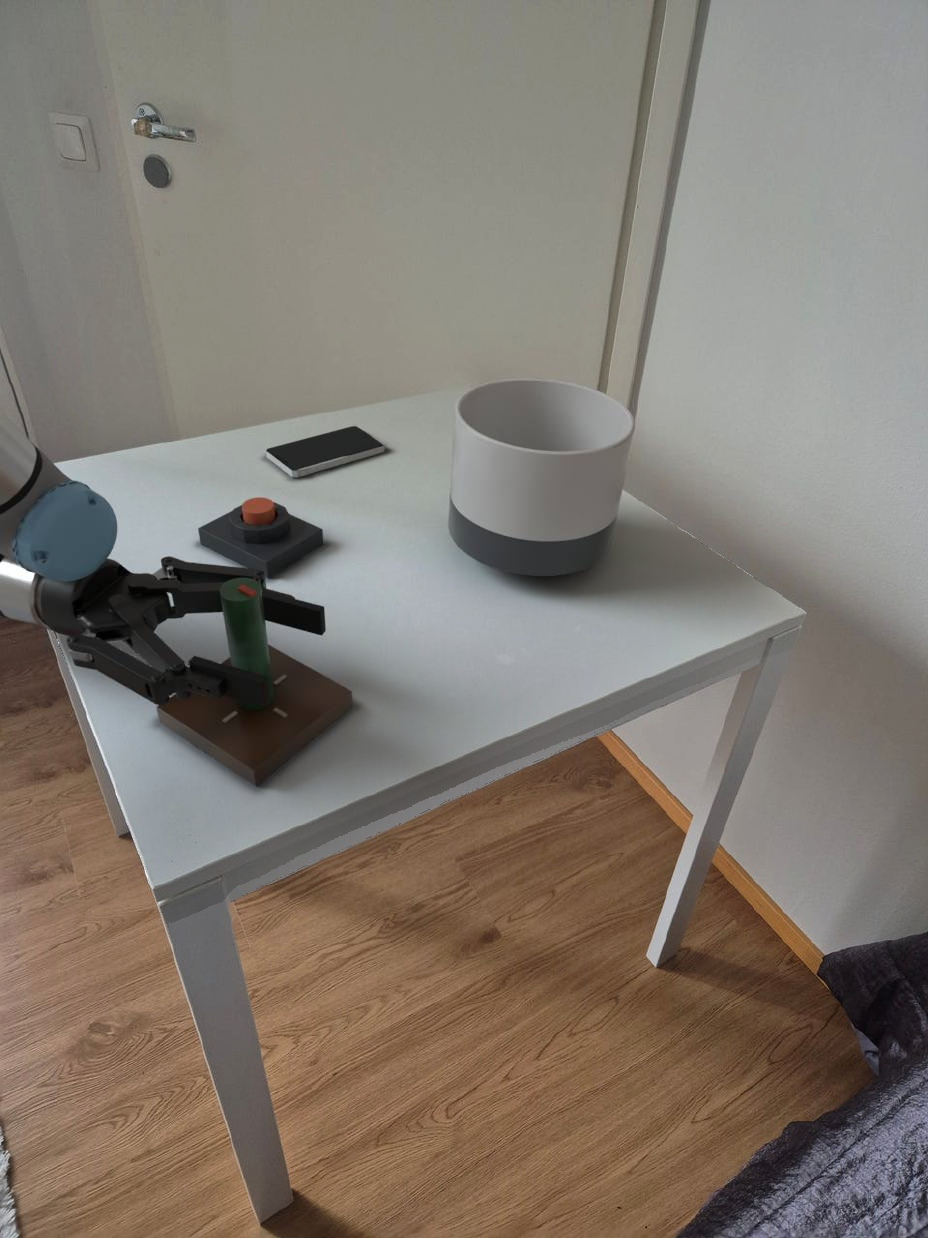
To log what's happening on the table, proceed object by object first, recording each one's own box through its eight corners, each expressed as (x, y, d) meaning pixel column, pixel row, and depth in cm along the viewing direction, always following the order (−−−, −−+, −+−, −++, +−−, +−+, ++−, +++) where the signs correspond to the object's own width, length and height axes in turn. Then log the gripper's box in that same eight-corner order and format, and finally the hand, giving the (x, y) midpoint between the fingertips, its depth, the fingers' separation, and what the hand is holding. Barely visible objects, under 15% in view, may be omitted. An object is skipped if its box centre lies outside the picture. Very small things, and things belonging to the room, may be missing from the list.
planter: (496, 615, 86) (512, 466, 75) (420, 527, 99) (424, 389, 88) (640, 575, 93) (673, 435, 82) (551, 498, 107) (570, 368, 96)
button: (236, 519, 91) (234, 505, 90) (259, 506, 94) (258, 493, 93) (259, 530, 90) (257, 516, 89) (282, 517, 92) (280, 504, 91)
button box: (200, 544, 93) (195, 514, 91) (257, 513, 99) (254, 485, 97) (268, 578, 89) (264, 548, 86) (323, 544, 95) (321, 515, 92)
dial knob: (229, 700, 71) (210, 587, 63) (256, 680, 73) (241, 569, 65) (255, 716, 69) (238, 602, 62) (281, 696, 71) (269, 584, 64)
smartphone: (386, 445, 114) (294, 471, 106) (386, 452, 115) (294, 480, 106) (354, 424, 118) (263, 448, 110) (354, 432, 119) (264, 456, 111)
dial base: (159, 723, 71) (155, 705, 69) (259, 653, 79) (257, 636, 77) (256, 787, 66) (253, 769, 64) (352, 706, 74) (351, 689, 72)
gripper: (151, 563, 81) (353, 616, 77) (-14, 701, 65) (231, 780, 60) (136, 498, 77) (351, 550, 72) (-45, 629, 60) (217, 708, 55)
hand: (296, 654), depth 66 cm, fingers open, 9 cm apart
